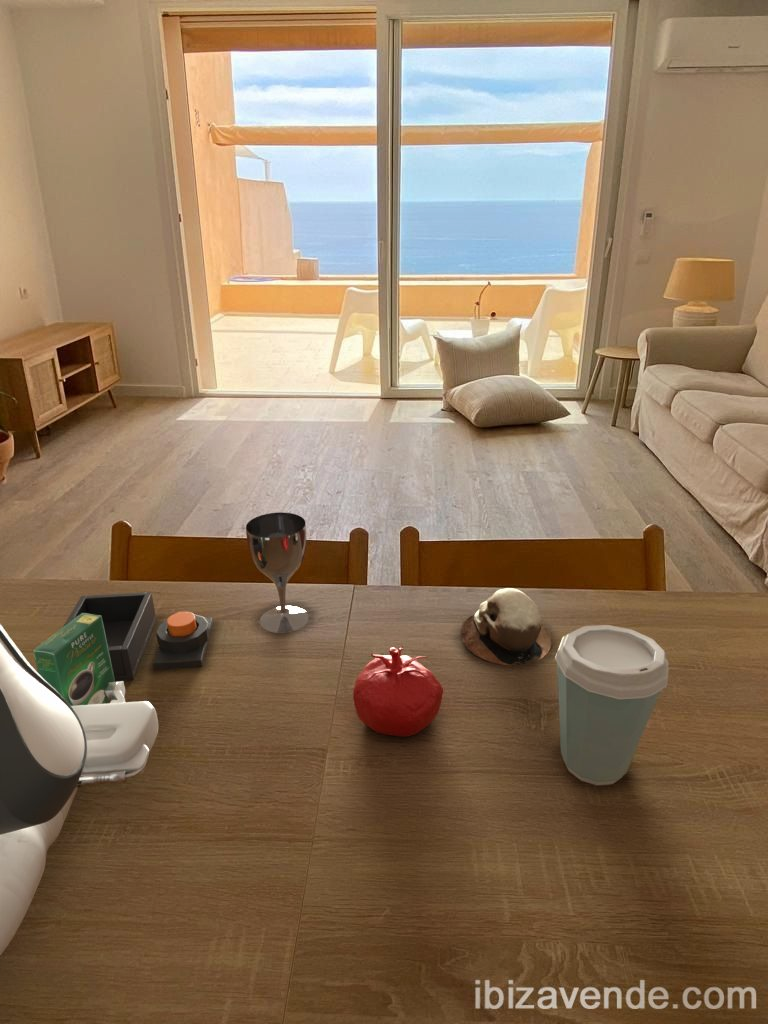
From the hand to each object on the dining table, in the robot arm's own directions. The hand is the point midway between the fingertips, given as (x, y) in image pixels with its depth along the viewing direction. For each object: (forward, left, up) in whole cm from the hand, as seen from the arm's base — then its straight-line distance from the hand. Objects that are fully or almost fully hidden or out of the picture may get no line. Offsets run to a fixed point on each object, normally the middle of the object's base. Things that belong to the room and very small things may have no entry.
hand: (72, 689), depth 75 cm
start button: (+8, +17, -4) cm, 19 cm away
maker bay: (-2, +17, -7) cm, 18 cm away
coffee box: (0, +2, -7) cm, 7 cm away
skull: (+51, +14, -7) cm, 53 cm away
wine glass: (+21, +22, -7) cm, 31 cm away
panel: (+8, +17, -7) cm, 20 cm away
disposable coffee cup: (+55, -9, -7) cm, 56 cm away
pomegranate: (+35, 0, -7) cm, 36 cm away
